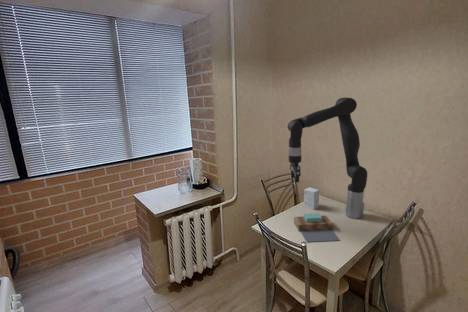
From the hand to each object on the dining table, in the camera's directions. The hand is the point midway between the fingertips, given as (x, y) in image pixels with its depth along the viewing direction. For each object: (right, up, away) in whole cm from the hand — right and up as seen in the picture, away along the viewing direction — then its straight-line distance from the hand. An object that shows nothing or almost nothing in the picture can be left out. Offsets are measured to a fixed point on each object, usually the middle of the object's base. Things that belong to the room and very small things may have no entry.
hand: (295, 179), depth 152 cm
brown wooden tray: (+10, -27, -3) cm, 29 cm away
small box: (+17, -21, +22) cm, 35 cm away
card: (+10, -23, -4) cm, 26 cm away
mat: (+10, -30, -14) cm, 35 cm away
